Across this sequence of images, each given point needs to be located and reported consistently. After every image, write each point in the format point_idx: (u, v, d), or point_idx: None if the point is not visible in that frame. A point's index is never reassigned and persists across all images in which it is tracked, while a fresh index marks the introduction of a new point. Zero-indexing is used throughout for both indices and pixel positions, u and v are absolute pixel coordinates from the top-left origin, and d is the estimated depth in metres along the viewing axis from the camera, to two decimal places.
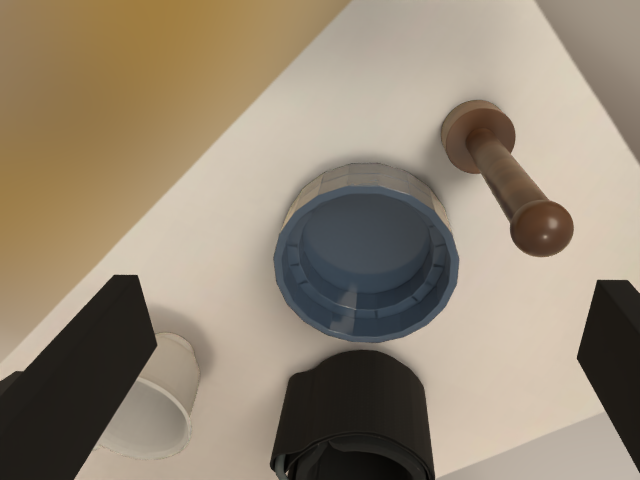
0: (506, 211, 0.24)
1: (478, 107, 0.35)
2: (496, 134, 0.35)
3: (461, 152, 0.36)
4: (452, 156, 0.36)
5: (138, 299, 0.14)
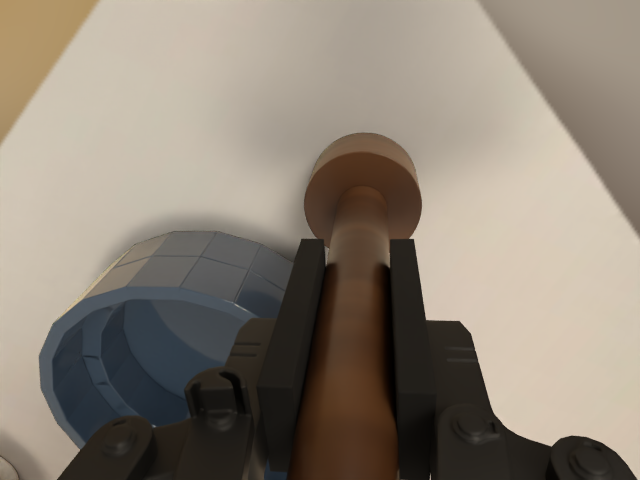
0: None
1: (354, 149, 0.20)
2: (388, 196, 0.20)
3: (332, 224, 0.21)
4: (318, 231, 0.21)
5: (324, 260, 0.15)
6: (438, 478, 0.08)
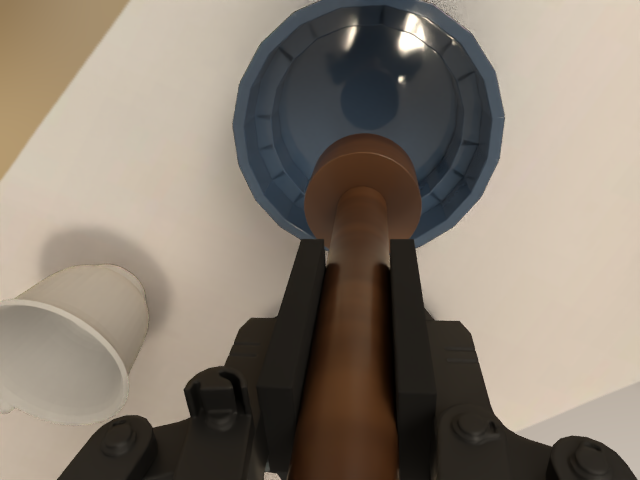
0: None
1: (354, 150, 0.20)
2: (388, 197, 0.20)
3: (332, 225, 0.21)
4: (318, 232, 0.21)
5: (324, 260, 0.15)
6: (438, 478, 0.08)
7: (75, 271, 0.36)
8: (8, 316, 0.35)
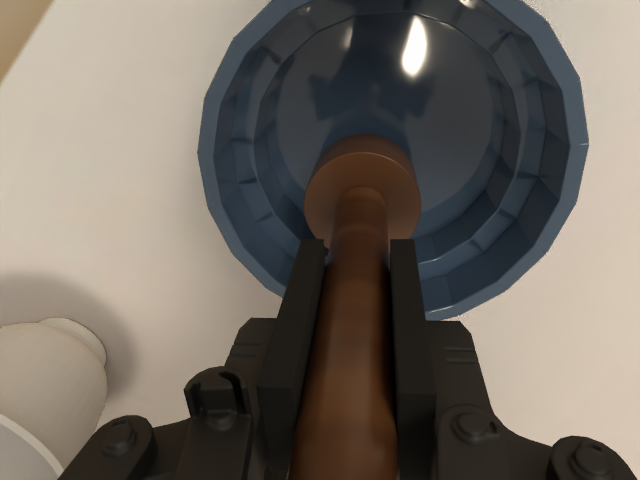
0: None
1: (353, 150, 0.20)
2: (387, 197, 0.20)
3: (332, 225, 0.21)
4: (318, 231, 0.21)
5: (324, 260, 0.15)
6: (438, 478, 0.08)
7: (8, 335, 0.28)
8: None
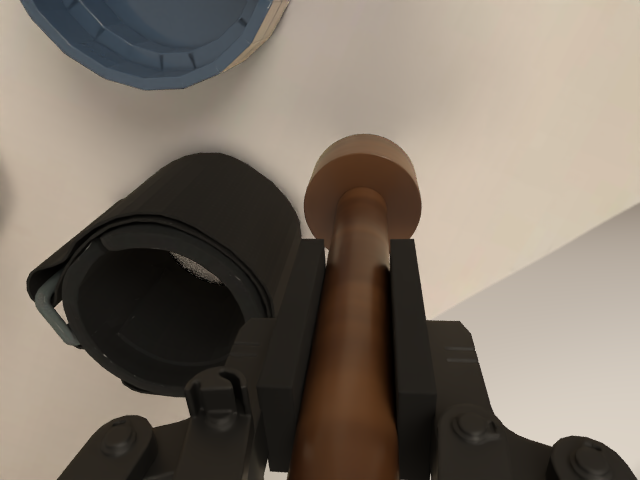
0: None
1: (353, 151, 0.20)
2: (387, 197, 0.20)
3: (332, 226, 0.21)
4: (318, 232, 0.21)
5: (323, 261, 0.15)
6: (438, 478, 0.08)
7: None
8: None
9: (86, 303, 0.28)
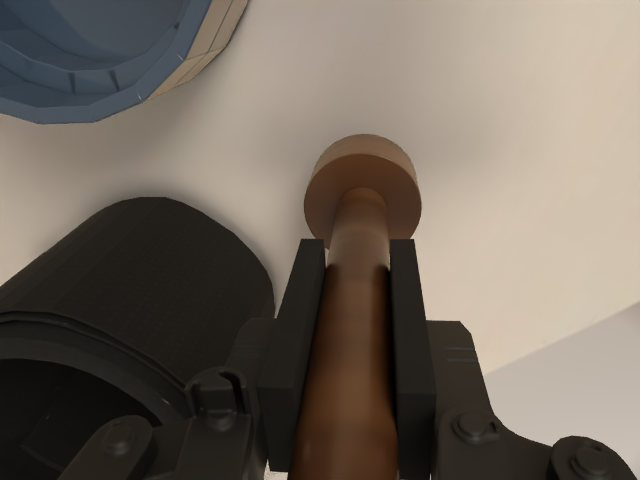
0: None
1: (353, 151, 0.20)
2: (388, 197, 0.20)
3: (332, 226, 0.21)
4: (318, 233, 0.21)
5: (324, 260, 0.15)
6: (438, 478, 0.08)
7: None
8: None
9: None
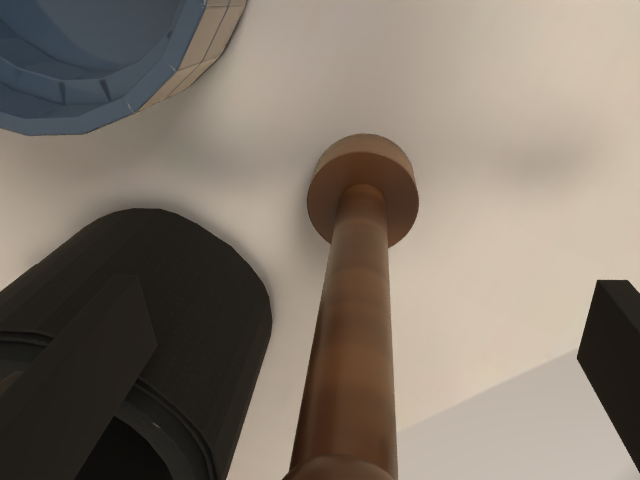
0: None
1: (354, 149, 0.21)
2: (386, 193, 0.21)
3: (334, 221, 0.22)
4: (320, 227, 0.22)
5: (139, 299, 0.14)
6: None
7: None
8: None
9: None
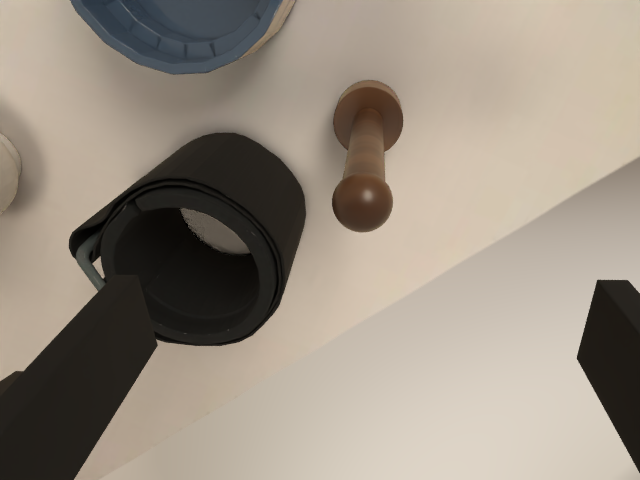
0: None
1: (363, 86, 0.34)
2: (383, 114, 0.34)
3: (350, 133, 0.35)
4: (341, 138, 0.35)
5: (139, 299, 0.14)
6: None
7: None
8: None
9: (120, 259, 0.33)
